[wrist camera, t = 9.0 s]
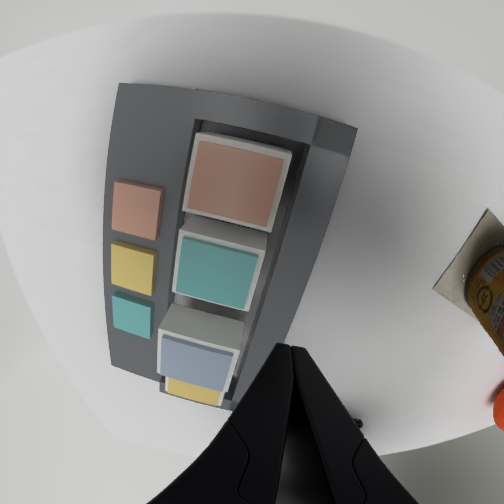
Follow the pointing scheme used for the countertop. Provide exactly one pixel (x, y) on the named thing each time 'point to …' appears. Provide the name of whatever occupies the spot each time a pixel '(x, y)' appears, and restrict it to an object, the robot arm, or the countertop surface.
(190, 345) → the key slate
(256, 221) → the block
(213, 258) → the key teal
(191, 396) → the key mustard
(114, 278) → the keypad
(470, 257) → the condiment
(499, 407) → the clementine
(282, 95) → the countertop surface
